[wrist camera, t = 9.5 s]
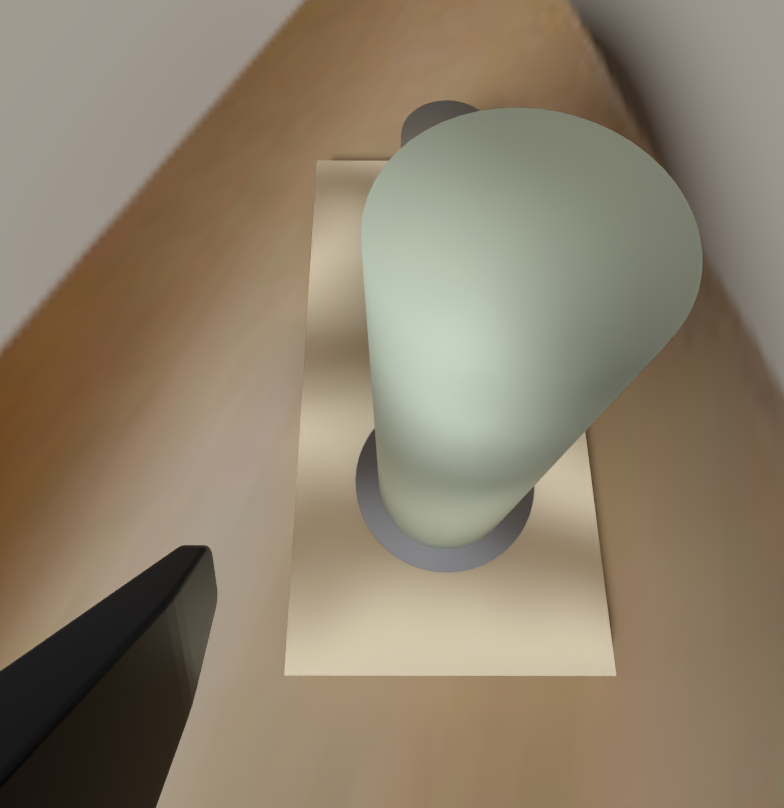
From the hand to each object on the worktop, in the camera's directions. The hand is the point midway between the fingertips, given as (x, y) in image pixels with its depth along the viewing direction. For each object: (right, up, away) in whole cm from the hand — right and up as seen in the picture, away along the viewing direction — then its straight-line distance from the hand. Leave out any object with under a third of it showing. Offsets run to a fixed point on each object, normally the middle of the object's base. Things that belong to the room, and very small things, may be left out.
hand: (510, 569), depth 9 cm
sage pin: (0, 0, +11) cm, 11 cm away
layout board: (0, +3, +14) cm, 14 cm away
